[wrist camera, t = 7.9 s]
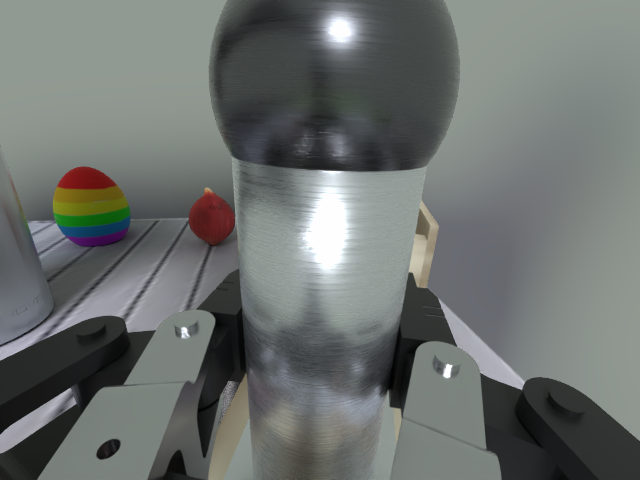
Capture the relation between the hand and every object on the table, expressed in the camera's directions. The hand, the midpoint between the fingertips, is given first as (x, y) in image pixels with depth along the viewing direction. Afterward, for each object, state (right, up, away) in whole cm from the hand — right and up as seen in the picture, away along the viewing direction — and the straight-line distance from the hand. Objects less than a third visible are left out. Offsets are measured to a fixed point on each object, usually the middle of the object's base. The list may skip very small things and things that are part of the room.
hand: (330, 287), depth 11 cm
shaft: (0, -6, +4) cm, 8 cm away
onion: (-15, +1, +31) cm, 34 cm away
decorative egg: (-31, +2, +31) cm, 44 cm away
